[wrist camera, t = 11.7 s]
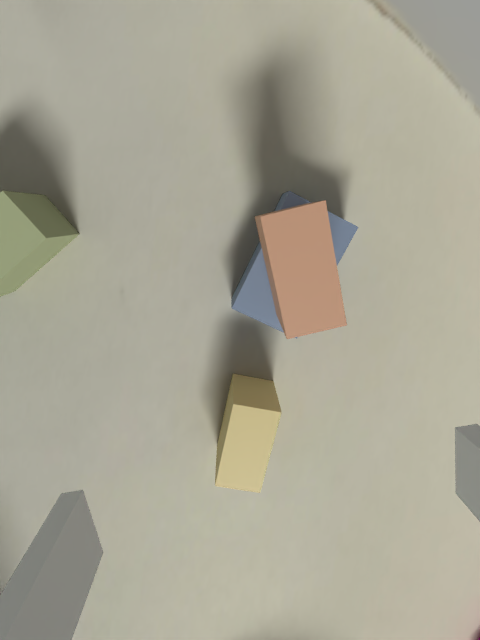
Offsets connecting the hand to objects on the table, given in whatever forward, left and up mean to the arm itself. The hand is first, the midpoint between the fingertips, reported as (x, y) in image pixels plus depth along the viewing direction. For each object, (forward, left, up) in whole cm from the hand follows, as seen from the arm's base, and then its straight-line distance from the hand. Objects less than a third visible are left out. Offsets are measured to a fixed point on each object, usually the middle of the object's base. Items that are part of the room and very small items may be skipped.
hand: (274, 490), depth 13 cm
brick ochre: (-2, -9, -22) cm, 24 cm away
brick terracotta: (+4, +5, -18) cm, 19 cm away
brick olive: (-18, +10, -22) cm, 30 cm away
